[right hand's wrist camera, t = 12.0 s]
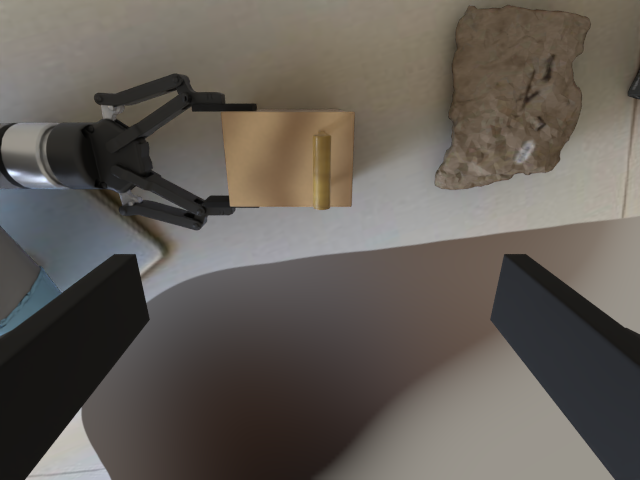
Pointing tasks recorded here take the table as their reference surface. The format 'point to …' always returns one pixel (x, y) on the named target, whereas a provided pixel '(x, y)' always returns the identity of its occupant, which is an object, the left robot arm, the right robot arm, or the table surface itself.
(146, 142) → the left robot arm
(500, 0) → the table surface
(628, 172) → the table surface
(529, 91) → the stone
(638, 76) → the graphics card box
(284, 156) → the lid
